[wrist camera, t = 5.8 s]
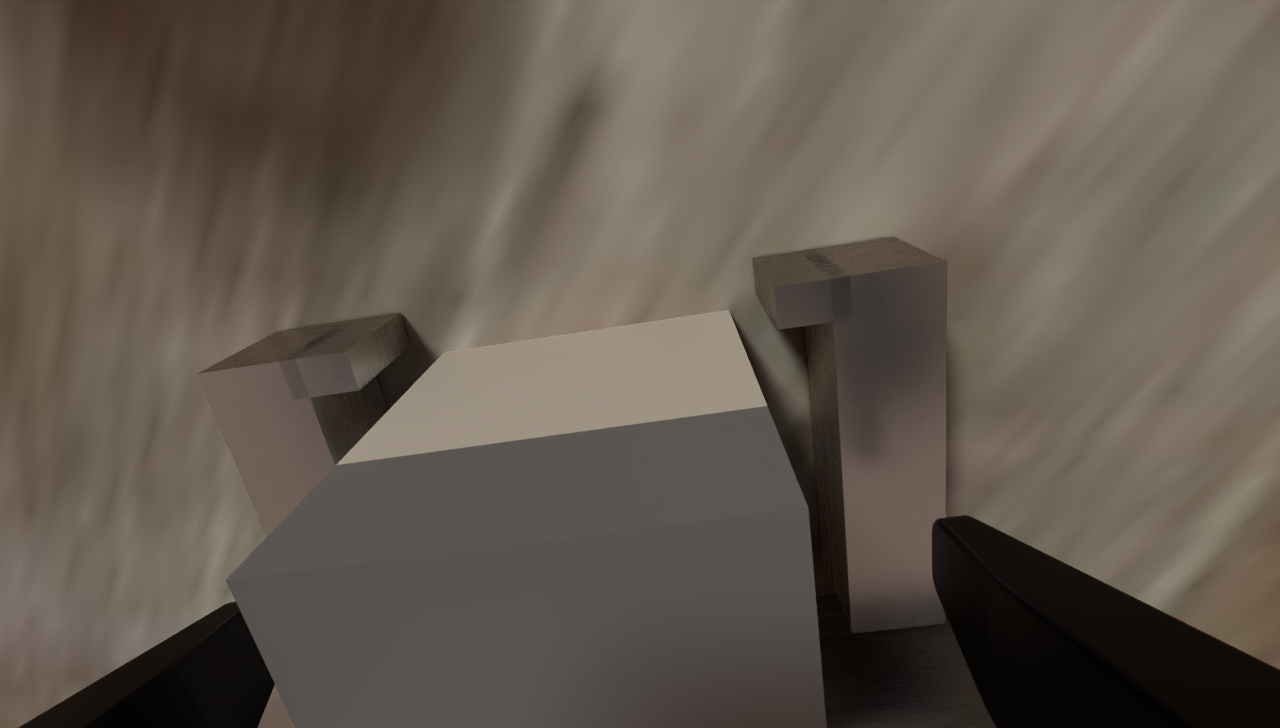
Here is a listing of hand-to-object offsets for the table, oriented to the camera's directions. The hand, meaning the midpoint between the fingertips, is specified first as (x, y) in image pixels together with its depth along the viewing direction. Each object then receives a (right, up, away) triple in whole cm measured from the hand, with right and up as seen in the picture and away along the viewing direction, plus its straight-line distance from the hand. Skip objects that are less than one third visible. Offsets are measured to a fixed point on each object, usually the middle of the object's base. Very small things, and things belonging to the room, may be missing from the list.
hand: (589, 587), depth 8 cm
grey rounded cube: (0, +1, +3) cm, 4 cm away
